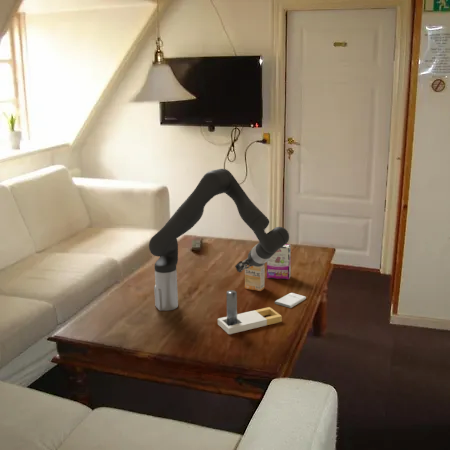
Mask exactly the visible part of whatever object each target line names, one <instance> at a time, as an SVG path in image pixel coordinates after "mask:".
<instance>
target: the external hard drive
mask: <svg viewBox="0 0 450 450" xmlns="http://www.w3.org/2000/svg"><path fill="white" fill-rule="evenodd" d="M306 299H307V296H305V295H301V294H297V293H295V292H290V293H288V294H285V295H284V296H282V297H280V298H278V299H276V300H275V301H274V305H275V304H276V305H277V306H278V305H279V306H282V307H286V308H289V309H292V308H293V307H295V306H296V305H299V304H300V303H302V302H303V301H305V300H306Z"/></svg>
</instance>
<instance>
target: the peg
mask: <svg viewBox="0 0 450 450" xmlns="http://www.w3.org/2000/svg"><path fill="white" fill-rule="evenodd" d="M237 293H238V292H237V290H233V289H230V290H227V291H226V317H227V325H228V326H231V325H235V324H237V314H238V294H237Z"/></svg>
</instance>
